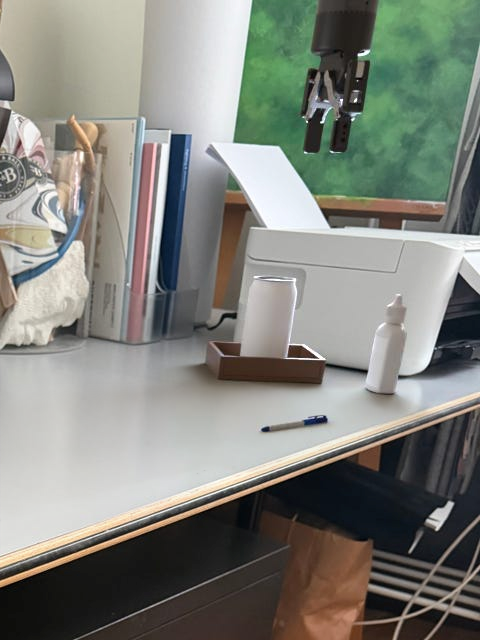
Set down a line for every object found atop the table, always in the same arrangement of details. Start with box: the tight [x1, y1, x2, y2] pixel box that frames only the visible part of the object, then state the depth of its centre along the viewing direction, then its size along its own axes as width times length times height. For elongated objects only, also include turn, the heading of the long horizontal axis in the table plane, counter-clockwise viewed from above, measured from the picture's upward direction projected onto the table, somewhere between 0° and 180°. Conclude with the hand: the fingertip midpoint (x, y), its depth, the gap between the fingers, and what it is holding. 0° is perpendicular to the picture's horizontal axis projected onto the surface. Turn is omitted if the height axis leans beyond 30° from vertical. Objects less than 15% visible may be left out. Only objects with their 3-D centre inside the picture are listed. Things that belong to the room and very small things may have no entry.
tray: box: [204, 340, 327, 384], centre depth 133 cm, size 14×12×3 cm
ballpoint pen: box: [260, 414, 329, 433], centre depth 106 cm, size 10×1×1 cm, turn 124°
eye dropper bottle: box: [365, 293, 408, 394], centre depth 122 cm, size 4×6×12 cm
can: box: [240, 275, 298, 358], centre depth 130 cm, size 6×6×12 cm
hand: (323, 152), depth 128 cm, fingers open, 8 cm apart
